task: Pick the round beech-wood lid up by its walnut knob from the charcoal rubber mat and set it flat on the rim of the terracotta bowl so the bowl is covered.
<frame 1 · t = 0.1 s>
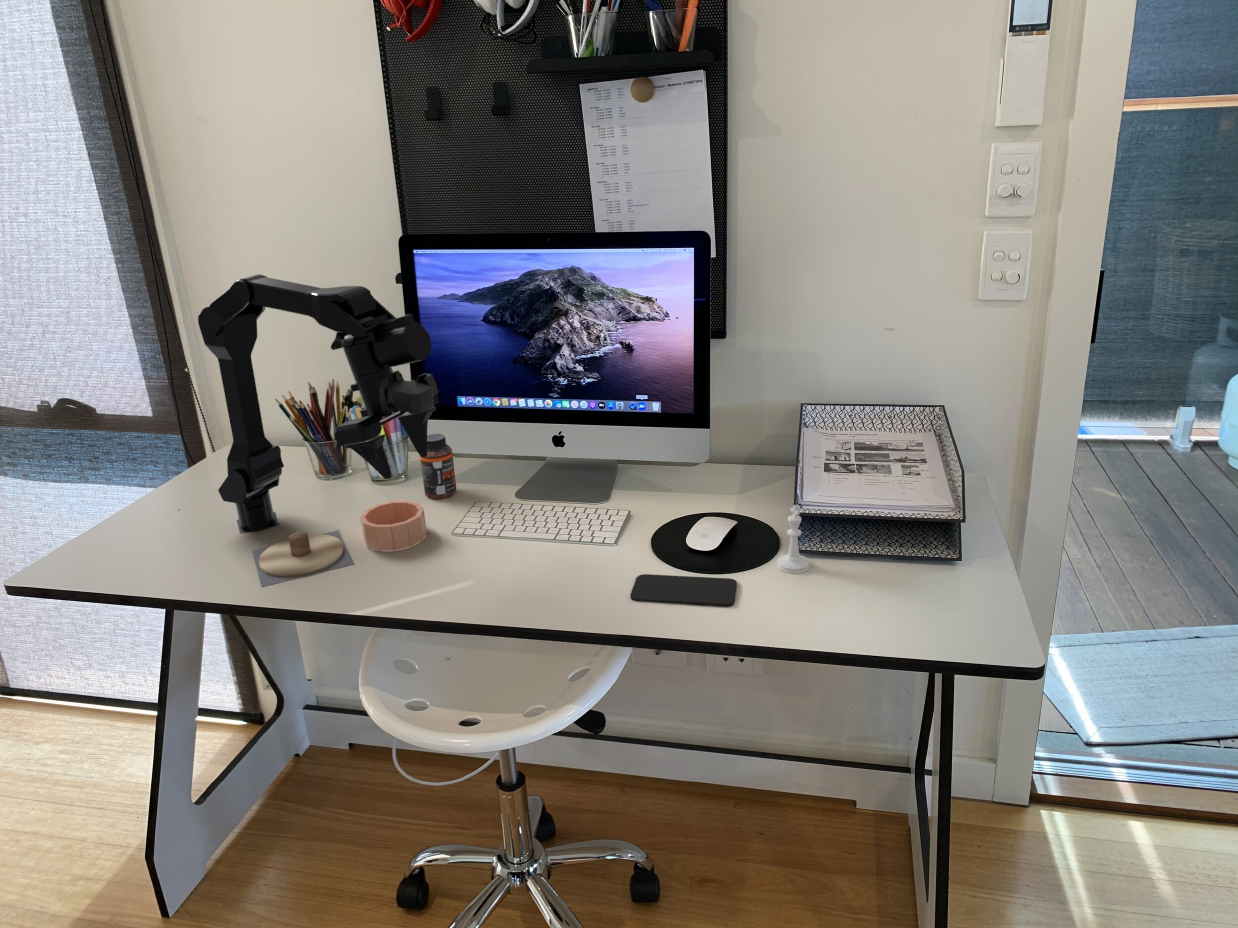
hand: (406, 467, 139), 15 cm above the table, tool pointing down, fingers open, 9 cm apart
phone: (684, 594, 131), on the table
bowl: (396, 540, 150), on the table
supplement bottle: (441, 494, 168), on the table
lid: (302, 556, 145), point 1 cm above the table, touching mat
chess piece: (793, 566, 136), on the table
mat: (302, 560, 145), on the table
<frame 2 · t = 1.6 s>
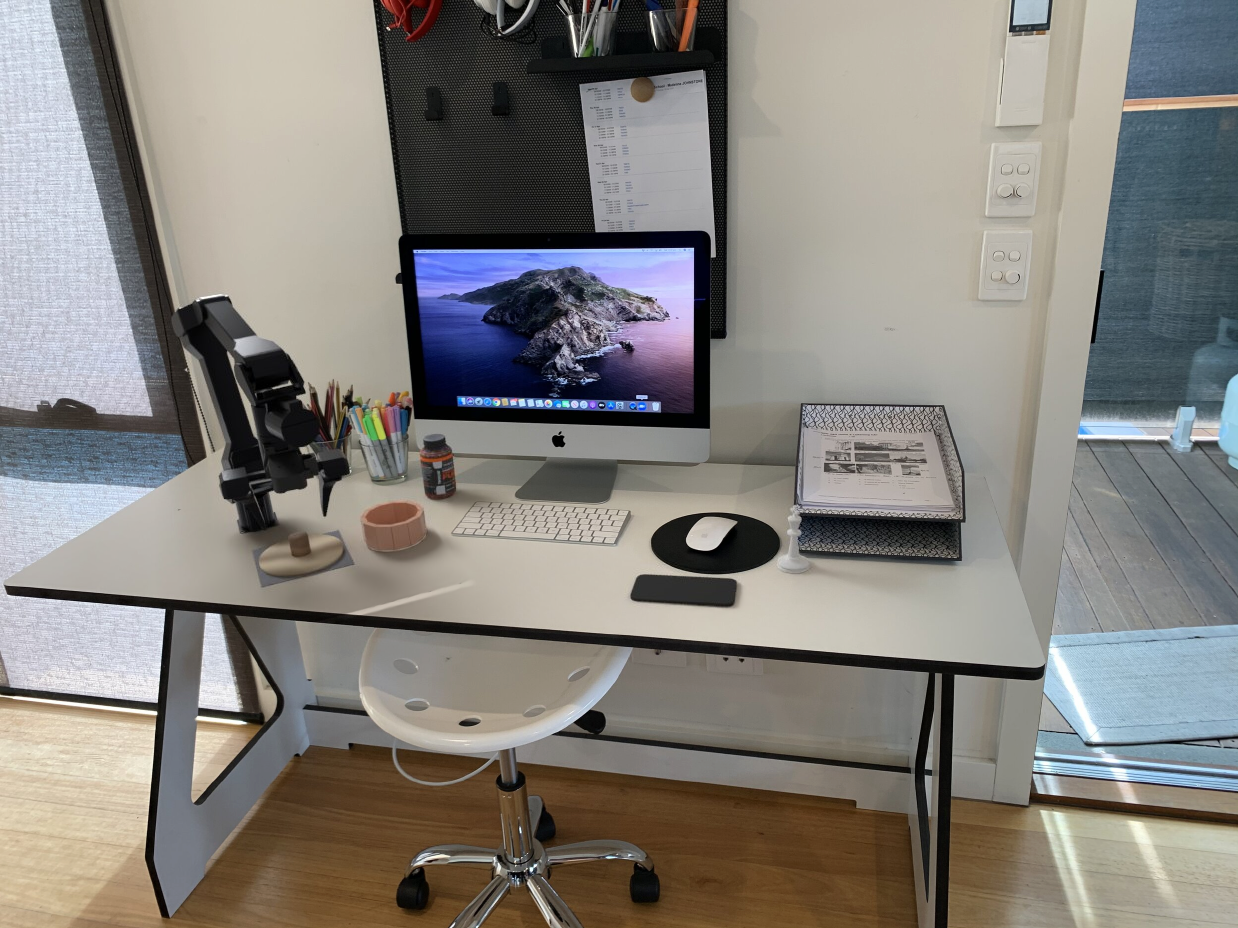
hand: (295, 522, 143), 7 cm above the table, tool pointing down, fingers open, 9 cm apart
nothing on the table moved.
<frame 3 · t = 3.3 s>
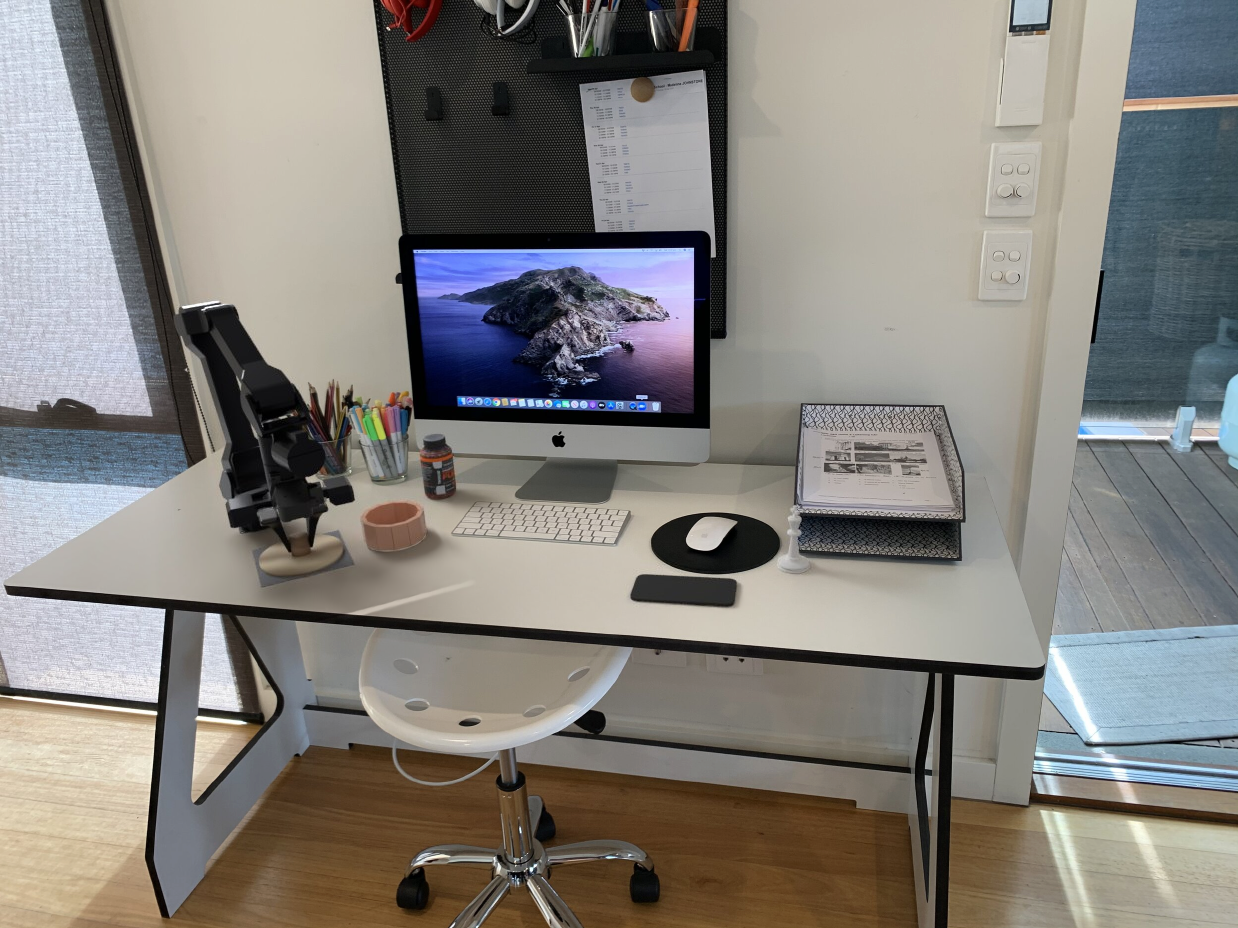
hand: (300, 549, 144), 2 cm above the table, tool pointing down, fingers closed on lid, 3 cm apart
lid: (302, 556, 145), point 1 cm above the table, touching gripper, mat
everything else where it was.
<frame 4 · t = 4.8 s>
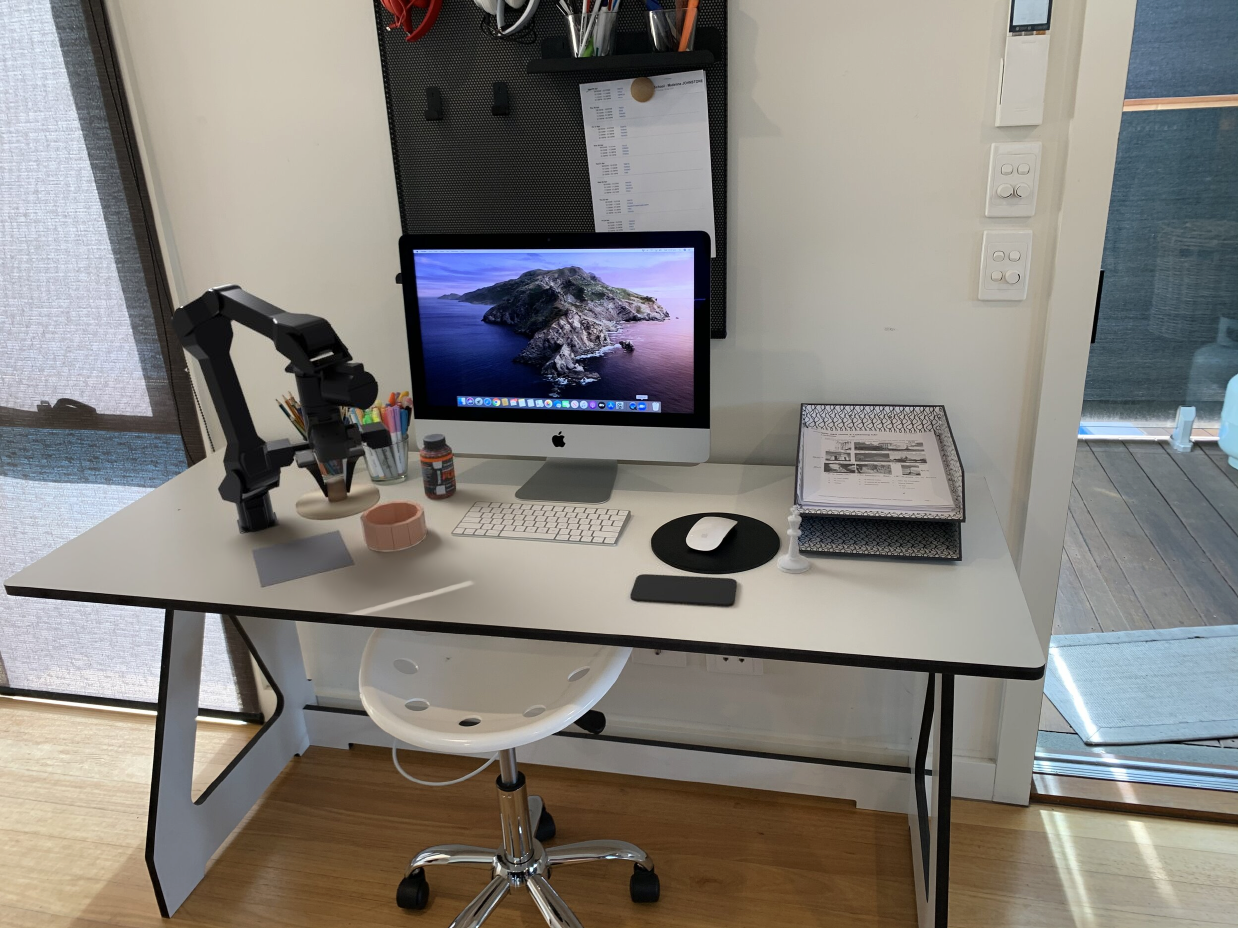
hand: (337, 494, 143), 10 cm above the table, tool pointing down, fingers closed on lid, 3 cm apart
lid: (338, 502, 144), point 9 cm above the table, touching gripper
everything else where it was.
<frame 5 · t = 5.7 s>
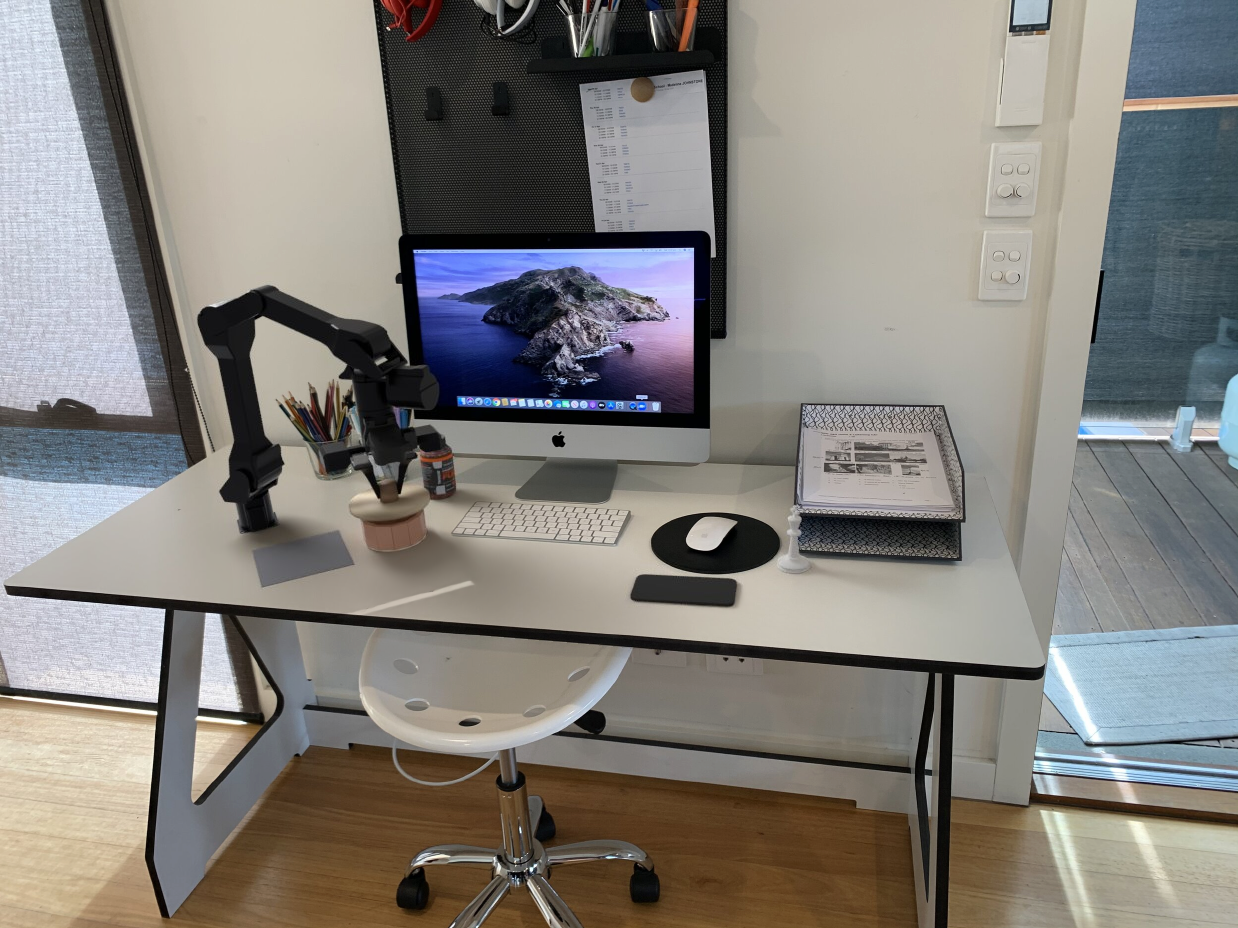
hand: (388, 495, 147), 8 cm above the table, tool pointing down, fingers closed on lid, 3 cm apart
lid: (390, 503, 148), point 7 cm above the table, touching gripper
everything else where it was.
when the fingers open (8 cm above the table, at t = 6.4 s): lid drops 1 cm, resting on bowl.
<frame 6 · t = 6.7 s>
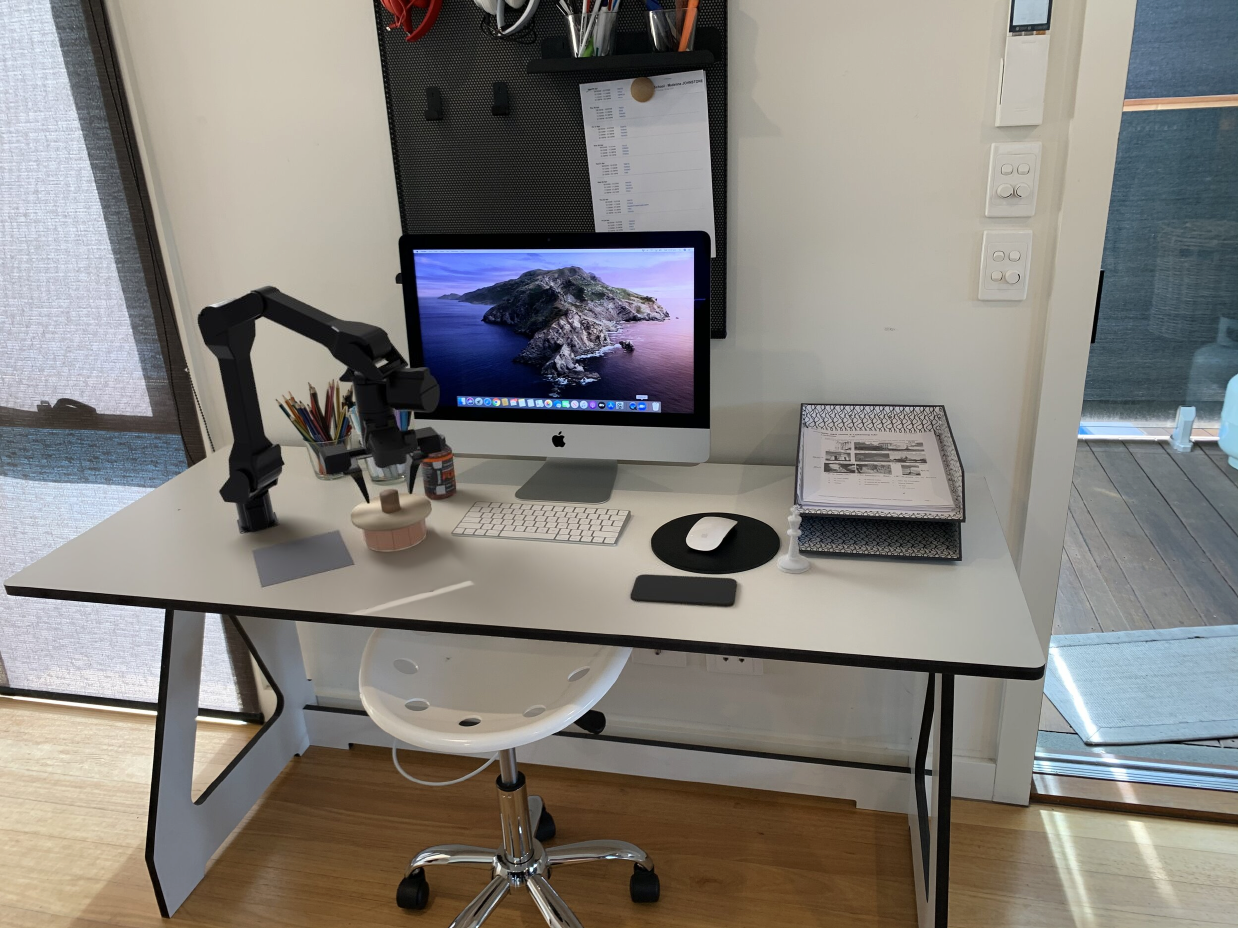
hand: (389, 498, 147), 8 cm above the table, tool pointing down, fingers open, 7 cm apart
lid: (391, 513, 148), point 5 cm above the table, touching bowl
everything else where it was.
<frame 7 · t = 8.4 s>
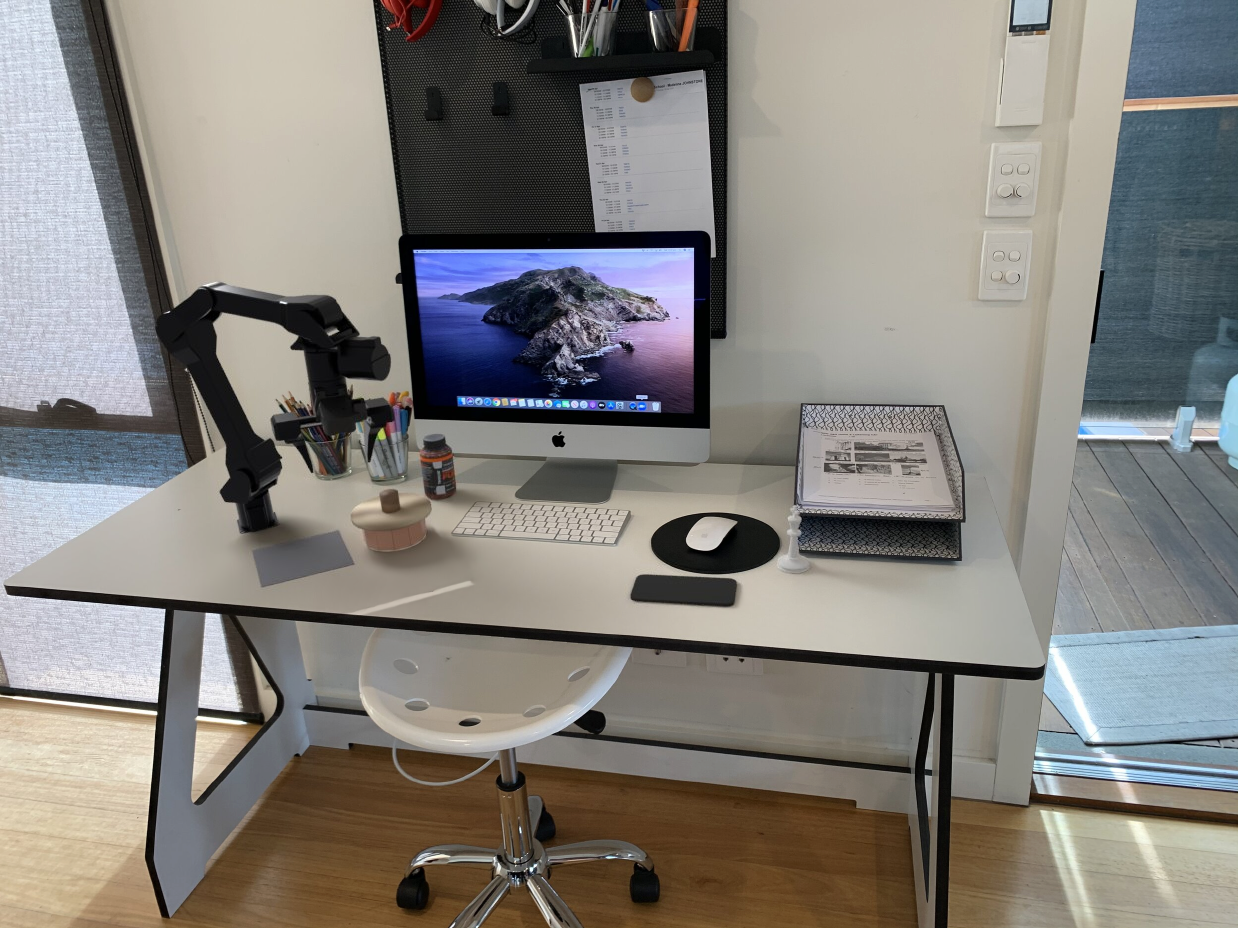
hand: (340, 467, 149), 12 cm above the table, tool pointing down, fingers open, 9 cm apart
nothing on the table moved.
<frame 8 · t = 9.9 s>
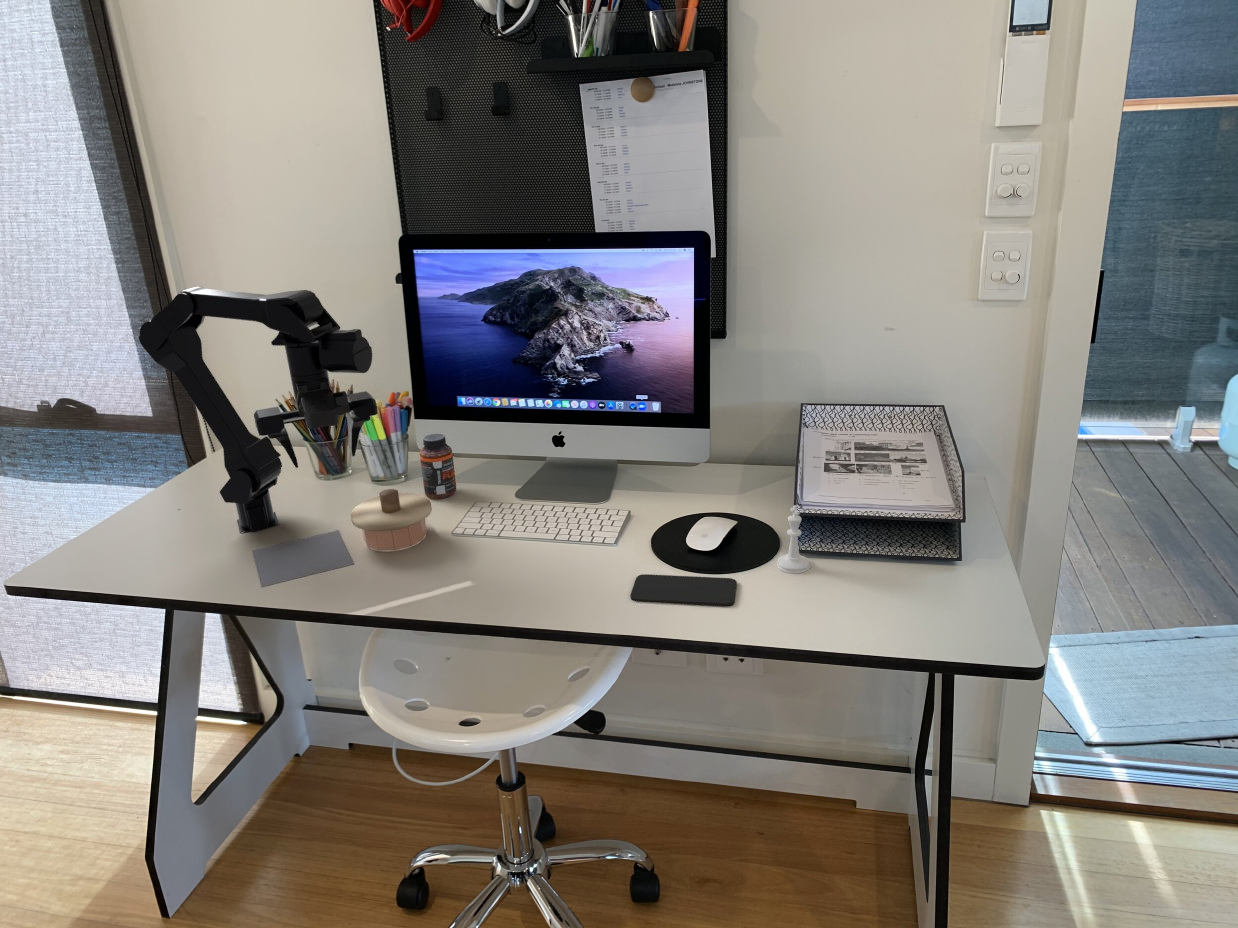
hand: (325, 461, 150), 13 cm above the table, tool pointing down, fingers open, 9 cm apart
nothing on the table moved.
at the end: lid 0.1 cm off-centre on the bowl, point 5.0 cm above the bowl's base; lid tilted 0°; the gripper is holding nothing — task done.
